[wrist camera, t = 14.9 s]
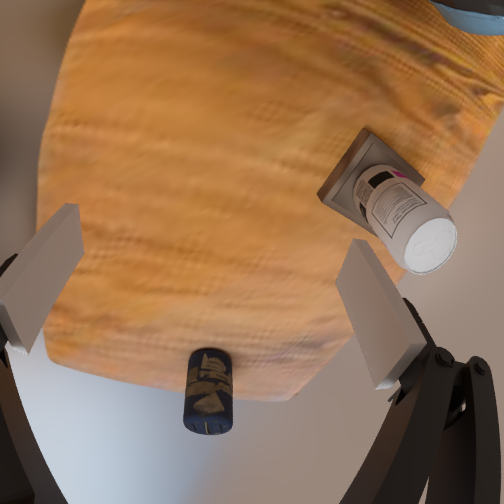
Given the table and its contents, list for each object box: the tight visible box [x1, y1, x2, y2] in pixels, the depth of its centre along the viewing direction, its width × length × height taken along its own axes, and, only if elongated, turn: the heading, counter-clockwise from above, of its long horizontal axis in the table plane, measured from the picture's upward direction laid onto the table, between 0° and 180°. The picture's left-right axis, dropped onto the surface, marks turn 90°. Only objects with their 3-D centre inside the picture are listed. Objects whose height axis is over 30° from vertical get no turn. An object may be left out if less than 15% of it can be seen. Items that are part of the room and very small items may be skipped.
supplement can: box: [353, 164, 457, 275], centre depth 34 cm, size 8×8×15 cm
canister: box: [183, 350, 233, 435], centre depth 56 cm, size 10×10×18 cm
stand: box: [317, 128, 425, 238], centre depth 41 cm, size 12×12×3 cm
